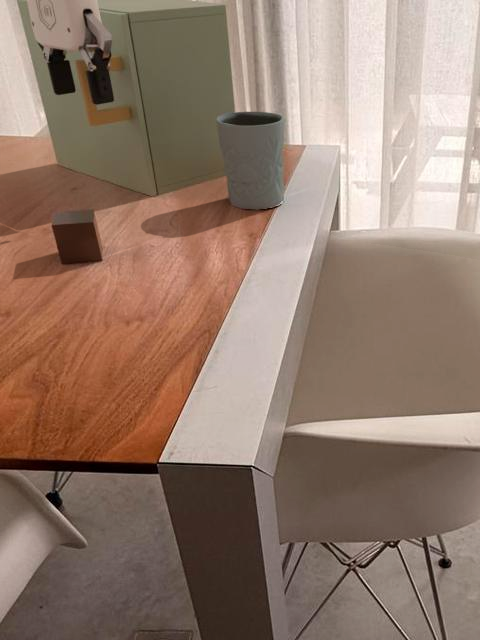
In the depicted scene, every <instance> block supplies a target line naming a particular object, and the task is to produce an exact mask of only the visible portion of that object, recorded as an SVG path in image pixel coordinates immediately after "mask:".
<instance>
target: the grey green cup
mask: <svg viewBox="0 0 480 640" xmlns="http://www.w3.org/2000/svg"><path fill="white" fill-rule="evenodd" d="M216 123H217V129H218V134H219V140H220V146H221V151H222V155H223V159H224V168H225V171H226V176H225V177H226V187H227V193H228V198H229V204H230V205H232V206H233V207H235V206H236V207H235V208H238V207H240V208H239V209H242V208H244V209H243V210H245V209H265V208H270V207H274V206H276V205H278V204H280V203H281V202H282V201H283V200H284V201H285V183H284V181H285V180H284V169H285V168H284V167H285V164H284V147H285V146H284V145H285V117H284V116H283V115H281V114H278V113H274V112H268V111H235V113H228V114H224V115H221V116H219V117H217V118H216ZM284 201H283V202H284Z"/></svg>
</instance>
